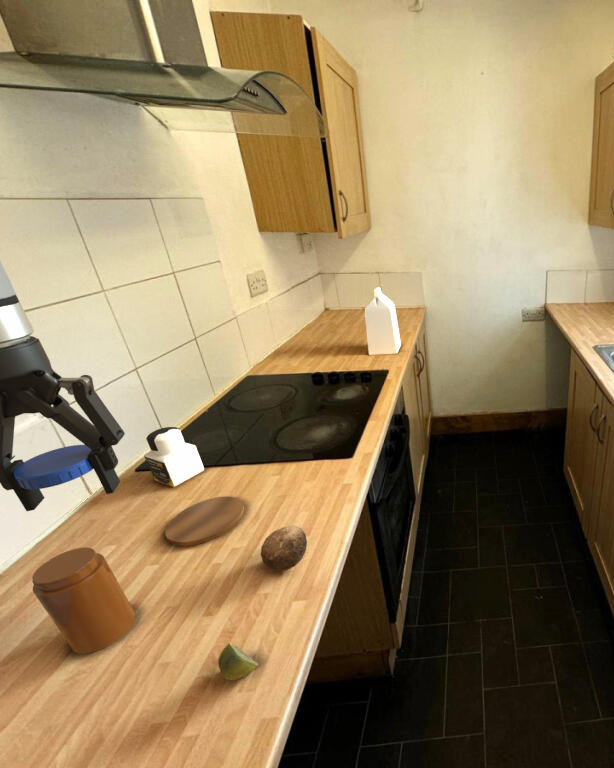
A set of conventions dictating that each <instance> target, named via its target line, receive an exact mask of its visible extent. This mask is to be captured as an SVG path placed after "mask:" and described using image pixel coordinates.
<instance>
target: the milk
mask: <svg viewBox="0 0 614 768" xmlns="http://www.w3.org/2000/svg"><path fill="white" fill-rule="evenodd" d="M373 295H374V298H373V299H372V300H371V301H370V302H369V304H368V305H367V306H365V308H364V321H365V331H366V341H367V348H368V350H367V351H368V355H370V356H371V355H376V356H377V355H393V354H394V355H396V354H398V352H399V350H400V348H401V346H402V342H401V337H400V329H399V323H398V318H397V310H396V305H395V303H394V302H393V301H392V300H391V299H390V298H389V297H387V296H386V295H385V294H383V292H382V290H381V286H376V287H375V288H374V289H373Z"/></svg>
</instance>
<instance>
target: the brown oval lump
mask: <svg viewBox="0 0 614 768" xmlns="http://www.w3.org/2000/svg"><path fill="white" fill-rule="evenodd" d="M307 546H308V539H307V535H306V533H305V531H304V530H303V529H302V527H300V526H297V525H294V524H293V525H291V524H290V525H287V526H283V527H280V528H278V529H275V530H274V531H273V532H272V533H270V534H269V535H268V536H267V537H265V539H264V541H263V543H262V545H261V547H260V558H261V560H262V563H263V564H264V565H265V567H267V568H268V569H270V570H273V571H277V572H286V571H289V570H291V569H292V568H295V567H296V566H297V565H298V564H299V563H300V562H301V561H302V560H303V558H304V556H305V553H306V551H307Z"/></svg>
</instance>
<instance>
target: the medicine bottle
mask: <svg viewBox="0 0 614 768" xmlns="http://www.w3.org/2000/svg"><path fill="white" fill-rule="evenodd" d="M146 442H147V444H148V447H149V449H150V451H149V452H146V453H145V454H144V455H143V457H144V459H145V461H146V464H147V466H148V469H149V470H150V473H151V475H152V477H153V479H154V481H157V482H159V483H161V484H165V485H167V486H170V487H172V488H174V487H177V486H178V485H181V484H182V483H184V482H186V481H187V480H190V479H191V478H193V477H195V476H197V475H198V474H200V473H202V472H204V471H205V467H204V464H203V462H202V458H201V456H200V454H199V451H198V448H197V446H196V445H195V444H191V443H188V442H185V439H184V436H183V434H182V430H181V429H180V428H179V427H176V426H165V427H162V428H161V427H160V428H157V429H156V430H154V431H152V432H150V433H149V434H148V435H147V436H146Z"/></svg>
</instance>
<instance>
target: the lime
mask: <svg viewBox="0 0 614 768" xmlns="http://www.w3.org/2000/svg"><path fill="white" fill-rule="evenodd" d="M217 664H218V669H219V674H220V675H221V676H222V677H223V678H225V679H227V680H229V681H237V680H239V679H242V678H244V677H247V676H248V675H250V674H251V673H253V672H254V671H255V670H256V669H257V667H258V666H259V663H258V662H257V661H255V660H254V658H252V657H251V656H250V655H248V654H247V653H245V652H244V651H243V650H242V649H241V648H240V647H238V646H236V645H235V644H233V643H231V642H229V643H227V644H226V646H224V647H223V649H222V650H221V652H220V654H219V656H218V661H217Z"/></svg>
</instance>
